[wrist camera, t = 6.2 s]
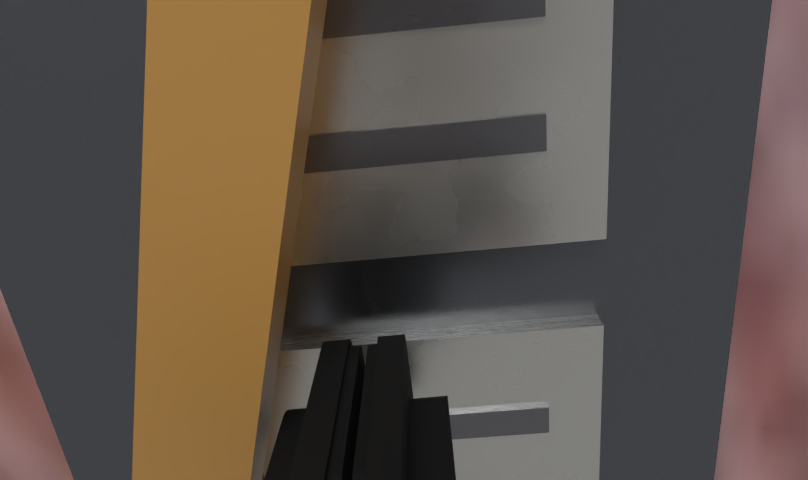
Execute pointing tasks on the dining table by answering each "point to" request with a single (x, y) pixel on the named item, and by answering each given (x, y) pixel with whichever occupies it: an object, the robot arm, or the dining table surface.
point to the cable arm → (218, 227)
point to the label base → (426, 220)
